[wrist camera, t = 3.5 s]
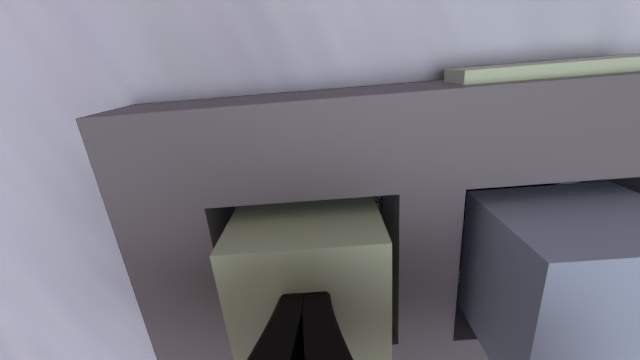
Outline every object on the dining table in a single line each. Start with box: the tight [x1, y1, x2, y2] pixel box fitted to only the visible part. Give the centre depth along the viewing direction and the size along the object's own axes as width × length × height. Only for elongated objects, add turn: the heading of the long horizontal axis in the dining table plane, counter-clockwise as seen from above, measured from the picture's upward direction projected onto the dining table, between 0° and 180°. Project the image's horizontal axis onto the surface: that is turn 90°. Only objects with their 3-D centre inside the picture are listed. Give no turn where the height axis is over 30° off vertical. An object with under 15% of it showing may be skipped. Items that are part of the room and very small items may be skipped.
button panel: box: [76, 54, 640, 360], centre depth 12 cm, size 12×28×3 cm, turn 94°
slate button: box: [457, 181, 640, 360], centre depth 10 cm, size 5×5×4 cm
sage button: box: [210, 196, 392, 360], centre depth 11 cm, size 5×5×4 cm
